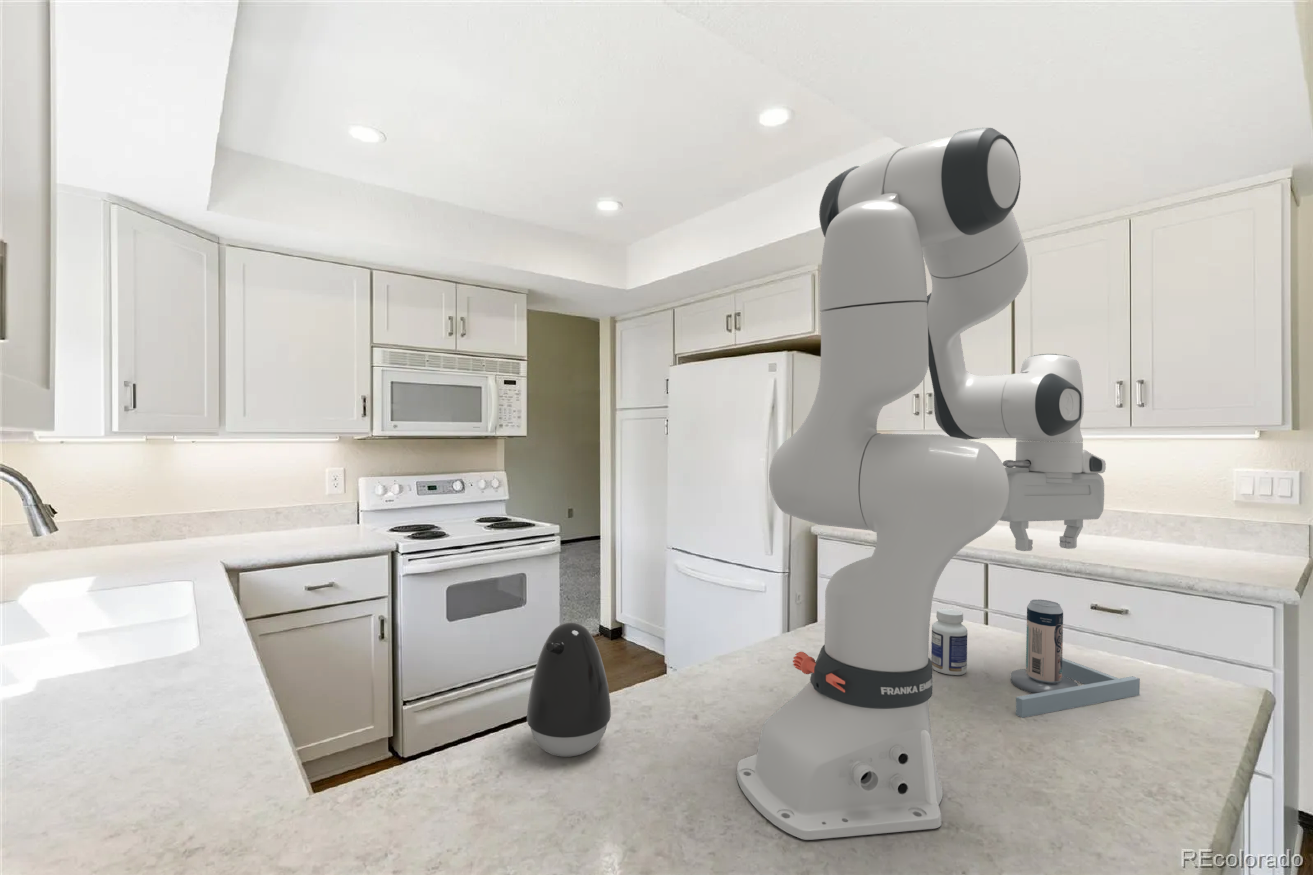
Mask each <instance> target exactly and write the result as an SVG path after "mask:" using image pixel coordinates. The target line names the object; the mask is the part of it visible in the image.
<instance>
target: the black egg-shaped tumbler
mask: <svg viewBox="0 0 1313 875" xmlns="http://www.w3.org/2000/svg"><path fill="white" fill-rule="evenodd" d="M528 695H529V696H528V701H527V711H526V721H527V724H528V726H529V728H530V732H531V735H532V737H533V739H534V741H535V742H536V744H537V745H538V747H539V748H541V749H542V750H543V751H544V752H546V753H548V754H550V755H553V756H558V757H564V758H567V757H568V758H569V757H577V756H579V755H583V754H586V753H587V752H589V751H591V750H592V749H594V748H595V747H596V746H597V745H598V744H599V742H600V741H601V740H602V738H603V737H604V735H605V732H606V730H607V726H608V723H609V722H610V720H611V715H612V712H611V711H612V709H611V708H612V707H611V706H612V705H611V697H610V690H609V684H608V679H607V674H606V669H605V666H604V663H603V660H602V656H601V653H600V650H599V647H598V645H597V643H596V640H595V638H594V637H593V635H592V633H591V632H590V631H589V630H588V629H587V627H585V626H584V625H583V624H580V623H577V622H564V623H562V624H560V625H558V626H556V627H555V628H554V629H553V630H552V631H551V632H550V633H549V636H548V637H547V639H546V640H545V642H544V644H543V645H542V649H541V650H540V654H539V656H538V660H537V663H536V666H535V669H534V672H533V677H532V681H531V686H530V690H529V694H528Z"/></svg>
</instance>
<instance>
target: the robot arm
mask: <svg viewBox="0 0 1313 875" xmlns="http://www.w3.org/2000/svg"><path fill="white" fill-rule="evenodd" d="M1018 156H1019V155H1018V153H1017V150H1016V149H1015V146H1014V144H1013V142H1012V141H1011V140H1010V138H1009V137H1007V136H1006V135H1004V133H1001V132H1000V131H998V130H997V129H995V128H993V127H979V128H978V127H977V128H970V129H964V130H959V131H957V132H955V133H954V134H953V135H952V136H946V137H941V138H937V139H934V140H933V139H932V140H928V141H925V142H922V143H919V144H914V145H911V146H906V147H905V146H904V147H899V148H897V149H895V150H892V151H890V152H887V153H884V154H882V155H880V156H877V157H876V158H874V159H871V160H869V161H867V162H866V163H864V164H861V165H856V166H851V167H850V168H848V169H846V170H845V171H843V172H840V173H839V174H838V175H837V176H835V177H834V178H833V179H831V181H830V182H829V183H828V184H827V186H826V188H825V190H824V192H823V194H822V198H821V201H820V204H819V211H818V212H819V213H818V214H819V215H818V217H819V224H820V230H821V232H822V235H823V237H824V243H823V247H822V248H823V249H822V254H821V255H822V256H821V257H822V258H821V264H820V265H821V266H820V278H819V279H820V280H819V283H820V284H819V312H820V316H819V318H820V319H819V320H820V370H819V371H820V372H819V381H818V382H819V383H818V386H817V392H816V395H815V397H814V398H815V399H814V401H813V404H812V406H811V408H810V411H809V412H808V414H807V416H806V418H805V420H804V421H803V423H802V425H801V426H800V427H799V428H798V429H797V430H796V431H795V432H794V434H793V435H792V436H790V437H788V439H786V440H785V441H784V442H783V443H782V444H781V445H780V446H779V447H778V449H777V450H776V452H775V454H774V455H773V457H772V459H771V463H770V467H769V472H768V473H769V474H768V483H769V488H770V492H771V495H772V498H773V500H774V502H775V504H776V505H777V507H778V508H779V509H780V511H781V512H783V513H784V514H786V515H788V516H792V517H794V518H797V519H799V520H803V521H806V522H810V523H813V524H815V525H818V526H827V527H837V528H846V529H853V530H863V531H870V532H871V531H872V532H874V533H876V542H875V549H874V551H873V553H872V555H871V556H868V557H865V558H862V559H859V560H857V561H855V562H854V561H853V562H851V563H849V564H847V565H845V566H843V567H841V568H839V569H838V570H837V571H836V572H835V573H834V574H832V575H831V578H829V581H828V583H827V585H826V588H825V595H824V596H825V597H824V644H823V645H822V647H821V648H820V651H819V654H818V655H817V658H816V660H815V658H814V657H812V656H809V655H808V654H807V653H806V652H804V651H799V652H796V653H795V656H793V658H792V659H793V660H792V663H793V664H792V665H793V666H794V668H795V669H797V670H799V671H801V672H802V673H803V674H805V675H810V677H809V678H810V679H809V680H810V681H809V683H808V684H806V685H805V686H804V687H803V688H802V689H801V690H800V691H798V692H797V693H796V694H795V695H794V696H793V697H792V698H790V700H788V701H787V702H786V703H785V704H784V705H783V706H781V707H780V708H779V709H778V710H776V712H774V713H773V714H772V715H771V716H769V717H768V718H767V719H766V720H765V722H764V723H763V725H762V728H761V732H760V736H759V740H758V745H757V746H758V747H757V753H756V754H753V755H750V756H747V757H745V758H742V759H739V761H738V763H737V768H736V779H737V782H738V785H739V787H740V789H741V791H742V793H743V794H744V796H745V797H746V798H747V800H748V801H749V802H750V803H751V805H753V806H754V808H755V809H756V810H757V811H758V813H760V814H761V815H762V816H763V817H764V818H765V819H767V820H768V821H769V822H770V823H772V825H774V826H776V827H777V828H778V829H780V830H782V831H784V832H786V833H787V834H789V835H792V836H794V837H797V838H798V839H801V840H805V841H809V840H821V839H833V838H844V837H855V836H856V837H857V836H867V835H878V834H887V833H888V834H889V833H899V832H900V833H901V832H912V831H922V830H923V831H924V830H932V829H933V830H934V829H937V828H939V827H942V814H941V809H940V804H941V801H942V799H943V794H944V792H943V791H944V790H943V787H942V784H941V780H940V776H939V774H938V772H939V771H938V769H937V763H936V759H935V754H934V744H933V737H932V726H931V718H930V717H931V716H930V704H929V700H930V699H931V698H932V696H933V684H934V678H933V668H932V661H931V658H929V650H930V648H929V647H930V646H929V645H930V644H929V641H930V626H931V625H930V624H931V614H932V607H933V599H934V595H935V594H934V593H935V590H936V587H937V584H938V581H939V579H940V577H941V575H942V574H943V571H945V570H944V569H945V568H946V567H947V565H948V564H949V562H950V561H952V559H953V558H954V557H955V556H956V554H958V553H959V552H960V551H961V550H962V549H963V548H964V547H966V546H967V545H968V544H970V543H971V542H973V541H975V540H977V539H978V538H980V537H982V536H983V535H985V534H986V533H988V532H989V531H990V530H992V529H993V528H994V527H995V526H996V524H997V523H998V522H999V521H1001V522H1009V529H1010V531H1011V533H1012V534H1013V535H1012V536H1013V537H1014V539H1015V540H1014V542H1015V544H1014V547H1015V550H1016V551H1020V552H1031V551H1033V541H1034V539H1031V538H1029V536H1028V533H1027V530H1026V529H1029V522H1049V521H1050V522H1053V521H1055V522H1056V521H1057V522H1058V521H1063V525H1064V526H1066V527H1065V530H1064V533H1063V534H1062V535H1059V543H1058V544H1059V547H1060V548H1062V549H1066V550H1070V549H1071V550H1072V549H1073V550H1075V549H1076V548H1077V546H1078V545H1077V544H1078V541H1077V540H1078V537H1079V535H1080V533H1081V531H1082V530H1083V528H1084V521H1087V520H1088V521H1089V520H1098V519H1099V518H1101V515H1102V514H1103V512H1104V505H1105V482H1104V478H1103V476H1102V475H1101V474H1104V473H1105V472H1106V468H1107V466H1106V465H1107V464H1106V461H1105V459H1104V458H1101V457H1100V456H1097V455H1095V454H1093V453H1091V452H1089V451H1088V450H1086V449H1083V448H1084V439H1083V436H1082V432H1081V423H1082V420H1083V417H1084V407H1085V406H1084V405H1085V404H1084V403H1085V402H1084V386H1083V383H1084V382H1083V378H1082V377H1083V376H1082V370H1081V366H1080V362H1079V360H1078V359H1076V358H1074V357H1073V356H1069V355H1066V354H1057V353H1041V354H1040V353H1039V354H1034V355H1031V356H1029V357H1027V358H1025V359H1024V360H1023V363H1022V365H1021V368H1020V372H1017V373H1016V372H1015V373H1009V374H994V375H993V374H991V375H979V374H978V375H977V374H973V373H971V372H969V371H967V368H966V364H965V356H964V351H963V344H962V339H961V334H962V333H963V332H965V331H967V330H969V329H971V328H972V327H974V326H976V325H979V324H981V323H983V322H986V321H988V320H989V319H991V318H993V317H995V316H997V315H998V314H1000V312H1002V311H1004V310H1005V309H1006V308H1007V307H1009V306H1010V304H1011V303H1012V302H1014V301H1015V300H1016V298H1017V297H1018V295H1020V292H1022V289H1023V288H1024V285H1025V284H1026V282H1027V278H1028V275H1029V262H1028V255H1027V250H1026V247H1025V244H1024V241H1023V238H1022V233H1021V231H1020V228H1019V226H1018V222H1017V220H1016V217H1015V215H1014V213H1013V208H1014V207H1015V206H1016V203H1017V201H1018V199H1019V195H1020V189H1021V166H1020V165H1021V164H1020V160H1019V157H1018ZM925 265H926V266H925ZM926 268H927V270H928V273H929V276H930V279H931V292H930V293H929V294H928V289H927V274H926ZM928 370H929V374H930V375H929V376H930V379H931V385H932V389H933V408H934V416H935V421H936V423H937V425H938V426H939V428H940V429H941V430H942V431H943V432H944V433H945V434H947V435H944V434H931V433H929V434H928V433H927V434H923V433H922V434H920V433H918V434H917V433H916V434H914V433H913V434H912V433H880V432H878V431H877V430H878V429H877V424H878V418H879V415H880V412H881V411H882V409H883V407H885V406H887V405H889V404H892V403H894V402H895V401H897V400H899V399H901V398H903V397H904V396H907V394H910V393H911V392H913V390H915V389H916V388H917V387H919V386H920V385H921V383H922V382H923V381H924V379H925V378H926V376H927V372H928ZM979 439H1015V441H1016V442H1015V460H1013V459H1006V460H1004V461H1002V460H1001V458H1000V456H998V454H997V453H996V452H995V451H994V450H993V449H992V448H991V447H990V446H989V445H988V444H986V443H983V442H980V441H975V440H979Z"/></svg>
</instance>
